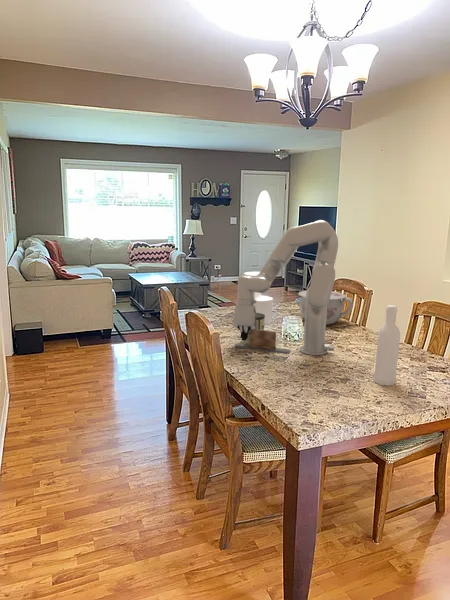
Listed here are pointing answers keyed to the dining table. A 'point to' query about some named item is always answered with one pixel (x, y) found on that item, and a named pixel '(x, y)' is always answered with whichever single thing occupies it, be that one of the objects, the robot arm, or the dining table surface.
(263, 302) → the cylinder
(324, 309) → the robot arm
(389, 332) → the bottle
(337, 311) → the chamber pot
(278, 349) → the grey flat strip
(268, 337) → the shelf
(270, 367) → the dining table surface
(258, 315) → the coffee can
